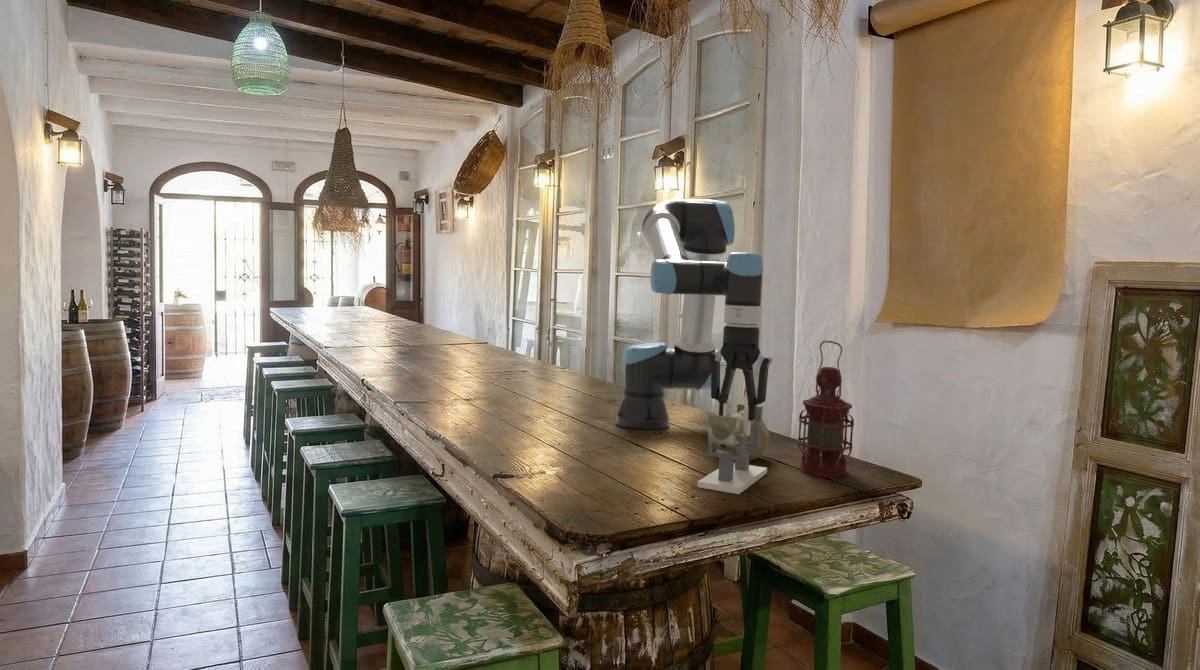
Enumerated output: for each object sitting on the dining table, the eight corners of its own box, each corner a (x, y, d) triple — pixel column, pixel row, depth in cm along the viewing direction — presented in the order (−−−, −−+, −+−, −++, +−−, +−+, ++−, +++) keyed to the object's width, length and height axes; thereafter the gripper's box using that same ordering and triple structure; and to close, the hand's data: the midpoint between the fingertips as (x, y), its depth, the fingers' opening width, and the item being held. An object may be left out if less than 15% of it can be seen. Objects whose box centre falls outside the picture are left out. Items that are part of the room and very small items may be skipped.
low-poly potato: (770, 455, 198) (732, 428, 203) (786, 423, 192) (747, 396, 197) (738, 482, 188) (700, 453, 193) (754, 449, 182) (714, 420, 186)
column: (738, 426, 182) (739, 403, 181) (761, 429, 179) (762, 406, 179) (707, 441, 164) (709, 415, 164) (733, 445, 162) (734, 418, 161)
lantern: (785, 466, 186) (792, 338, 183) (827, 463, 191) (835, 338, 188) (817, 480, 175) (826, 344, 172) (862, 476, 179) (871, 343, 177)
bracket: (728, 466, 184) (731, 419, 183) (766, 473, 180) (769, 423, 179) (697, 487, 166) (700, 434, 165) (739, 494, 162) (742, 439, 161)
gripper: (697, 323, 170) (692, 431, 172) (776, 328, 163) (770, 442, 165) (709, 322, 177) (704, 426, 179) (785, 327, 169) (779, 436, 171)
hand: (736, 433), depth 172 cm, fingers closed on column, 4 cm apart
